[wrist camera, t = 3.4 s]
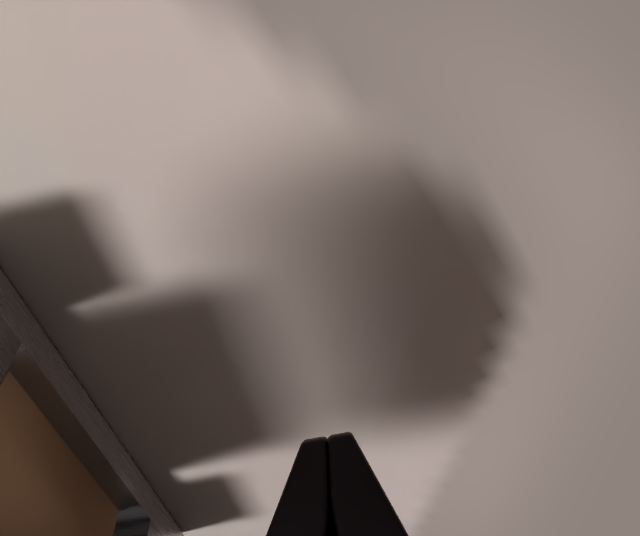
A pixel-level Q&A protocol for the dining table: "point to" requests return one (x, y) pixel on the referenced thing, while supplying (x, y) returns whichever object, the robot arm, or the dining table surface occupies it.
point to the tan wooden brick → (44, 476)
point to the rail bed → (77, 419)
